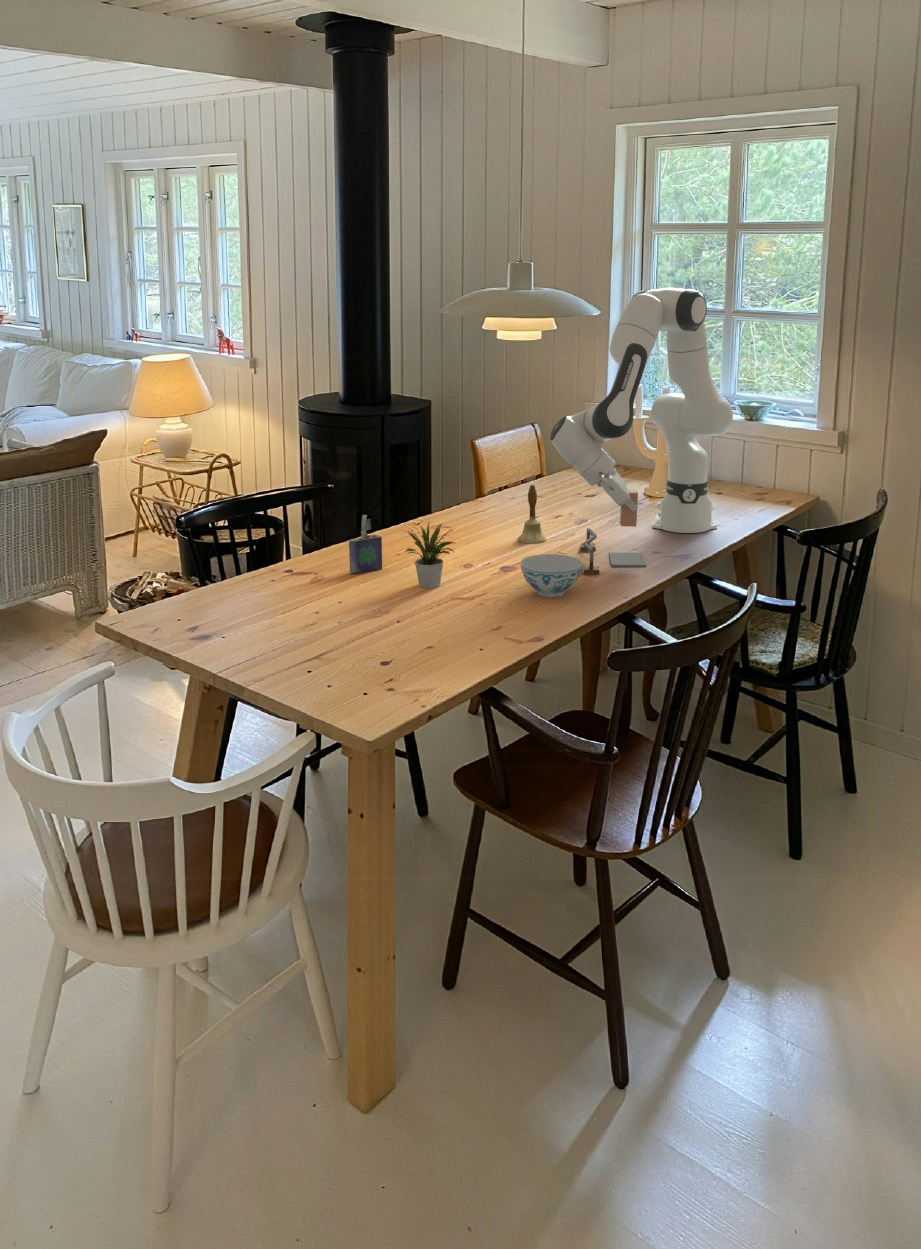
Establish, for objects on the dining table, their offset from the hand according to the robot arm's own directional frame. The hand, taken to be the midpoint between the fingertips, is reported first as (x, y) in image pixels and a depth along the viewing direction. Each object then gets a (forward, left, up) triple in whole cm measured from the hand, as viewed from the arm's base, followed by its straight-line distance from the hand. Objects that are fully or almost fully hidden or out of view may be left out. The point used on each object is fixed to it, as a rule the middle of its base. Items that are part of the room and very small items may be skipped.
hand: (635, 507), depth 288 cm
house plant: (+25, -53, -15) cm, 60 cm away
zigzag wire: (0, -12, -15) cm, 19 cm away
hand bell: (-21, -27, -15) cm, 37 cm away
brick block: (0, -2, -5) cm, 5 cm away
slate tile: (0, -2, -15) cm, 15 cm away
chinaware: (+29, -22, -15) cm, 39 cm away
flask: (+12, -70, -15) cm, 73 cm away
